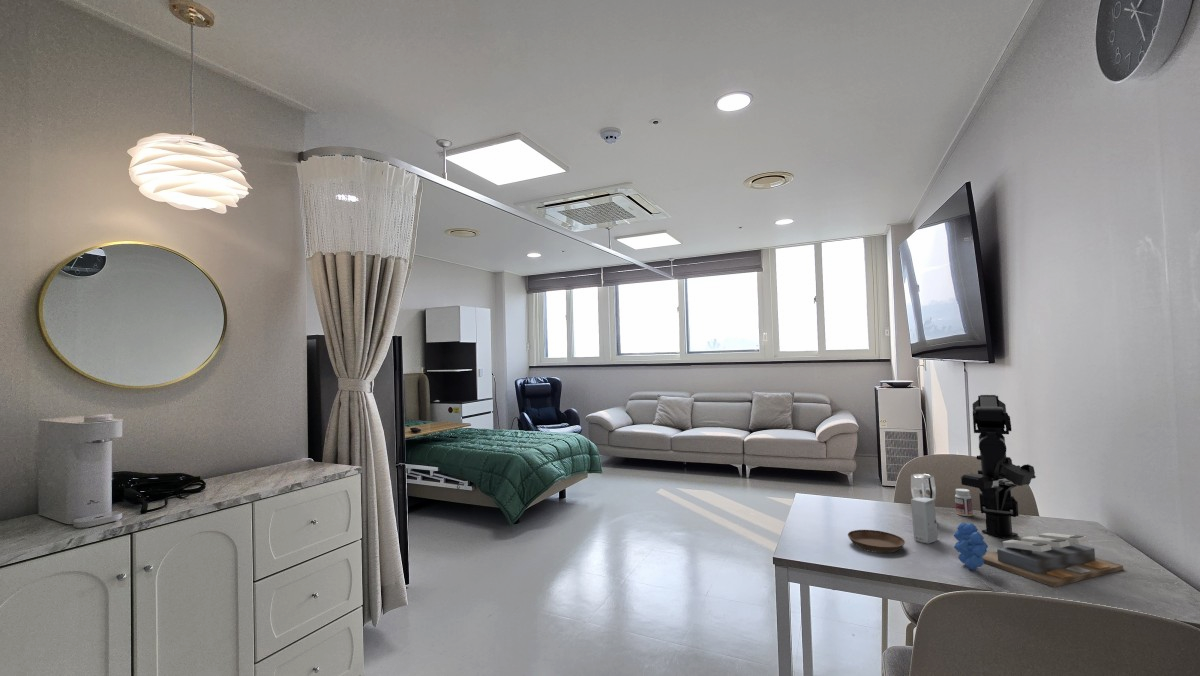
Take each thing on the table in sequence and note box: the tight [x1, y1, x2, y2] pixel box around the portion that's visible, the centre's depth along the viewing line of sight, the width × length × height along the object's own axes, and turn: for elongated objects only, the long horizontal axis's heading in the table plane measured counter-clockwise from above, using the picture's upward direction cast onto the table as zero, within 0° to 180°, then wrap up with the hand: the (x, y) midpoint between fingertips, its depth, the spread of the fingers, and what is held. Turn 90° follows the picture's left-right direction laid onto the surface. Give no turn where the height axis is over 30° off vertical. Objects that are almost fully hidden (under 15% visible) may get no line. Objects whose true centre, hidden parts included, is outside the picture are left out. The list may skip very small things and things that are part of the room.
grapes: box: [953, 522, 989, 571], centre depth 128 cm, size 12×7×12 cm, turn 171°
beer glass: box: [910, 473, 937, 505], centre depth 167 cm, size 7×7×15 cm
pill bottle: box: [954, 488, 974, 517], centre depth 172 cm, size 5×5×8 cm
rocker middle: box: [1020, 535, 1070, 548], centre depth 129 cm, size 4×9×1 cm, turn 18°
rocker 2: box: [1038, 532, 1089, 545], centre depth 131 cm, size 4×9×1 cm, turn 18°
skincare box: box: [910, 497, 939, 544], centre depth 149 cm, size 6×4×12 cm
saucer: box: [847, 529, 906, 554], centre depth 146 cm, size 15×15×3 cm
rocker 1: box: [1002, 539, 1052, 552], centre depth 127 cm, size 4×9×1 cm, turn 18°
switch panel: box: [982, 543, 1124, 588], centre depth 129 cm, size 26×18×5 cm
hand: (997, 509), depth 137 cm, fingers closed
